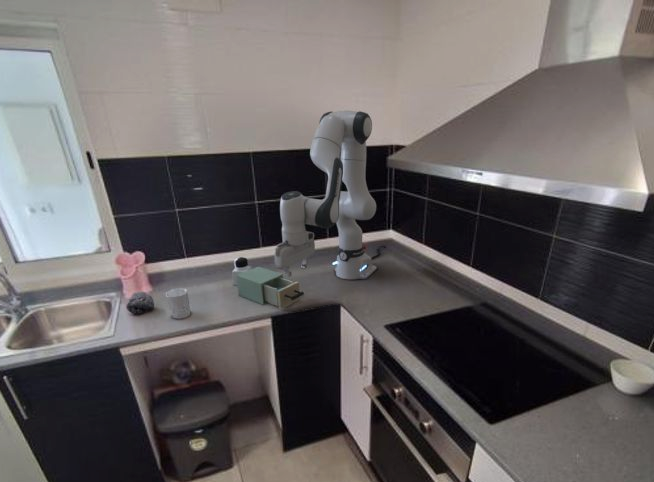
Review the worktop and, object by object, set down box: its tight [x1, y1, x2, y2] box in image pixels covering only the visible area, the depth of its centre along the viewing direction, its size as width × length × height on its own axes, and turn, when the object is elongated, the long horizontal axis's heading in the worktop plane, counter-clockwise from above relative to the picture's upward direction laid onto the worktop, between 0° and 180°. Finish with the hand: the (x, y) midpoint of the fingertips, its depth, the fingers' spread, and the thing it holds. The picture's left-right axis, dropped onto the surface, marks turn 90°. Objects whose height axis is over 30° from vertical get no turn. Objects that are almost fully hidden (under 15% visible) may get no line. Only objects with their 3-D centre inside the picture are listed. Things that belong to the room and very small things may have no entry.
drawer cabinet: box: [236, 266, 284, 305], centre depth 166 cm, size 16×13×10 cm
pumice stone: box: [125, 291, 156, 315], centre depth 155 cm, size 10×8×10 cm
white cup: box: [165, 287, 191, 320], centre depth 150 cm, size 8×8×10 cm
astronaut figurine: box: [231, 256, 253, 286], centre depth 177 cm, size 7×7×12 cm
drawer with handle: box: [262, 277, 305, 309], centre depth 159 cm, size 19×11×8 cm, turn 53°
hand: (296, 272), depth 148 cm, fingers open, 8 cm apart
